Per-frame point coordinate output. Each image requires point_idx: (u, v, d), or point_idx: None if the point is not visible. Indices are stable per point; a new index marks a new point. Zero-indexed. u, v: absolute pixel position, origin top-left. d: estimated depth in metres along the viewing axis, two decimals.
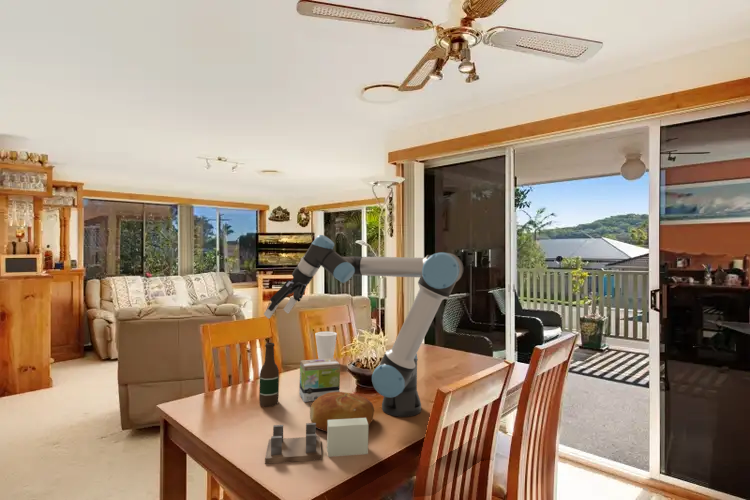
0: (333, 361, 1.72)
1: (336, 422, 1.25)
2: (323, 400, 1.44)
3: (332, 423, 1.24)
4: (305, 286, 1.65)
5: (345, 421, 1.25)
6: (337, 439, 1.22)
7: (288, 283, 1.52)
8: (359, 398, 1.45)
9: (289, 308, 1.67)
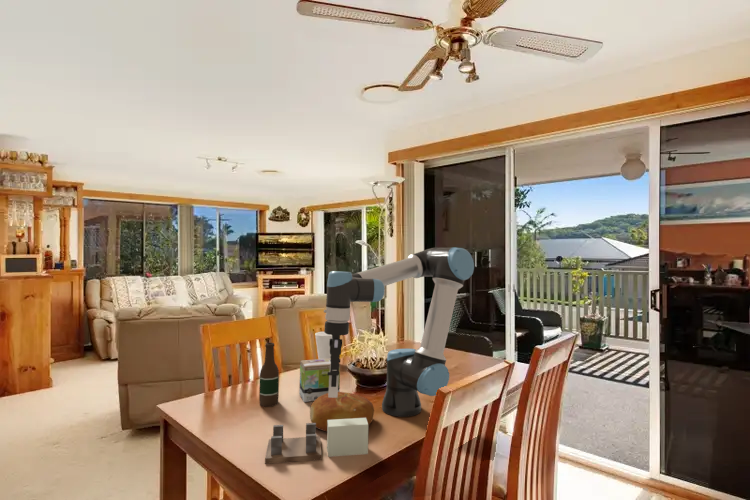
0: None
1: (336, 422, 1.25)
2: (323, 400, 1.44)
3: (332, 423, 1.24)
4: None
5: (345, 421, 1.25)
6: (337, 439, 1.22)
7: (335, 342, 1.20)
8: (359, 398, 1.45)
9: None
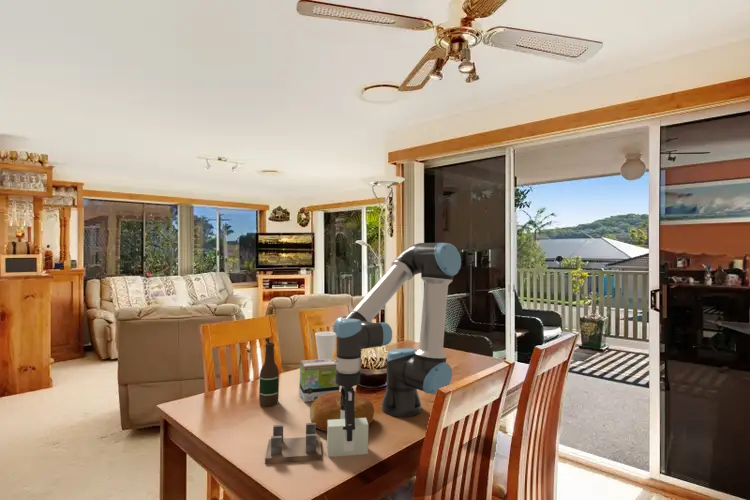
0: (333, 361, 1.72)
1: (336, 422, 1.25)
2: (323, 400, 1.44)
3: (332, 423, 1.24)
4: None
5: None
6: (337, 439, 1.22)
7: (349, 396, 1.18)
8: (359, 398, 1.45)
9: None
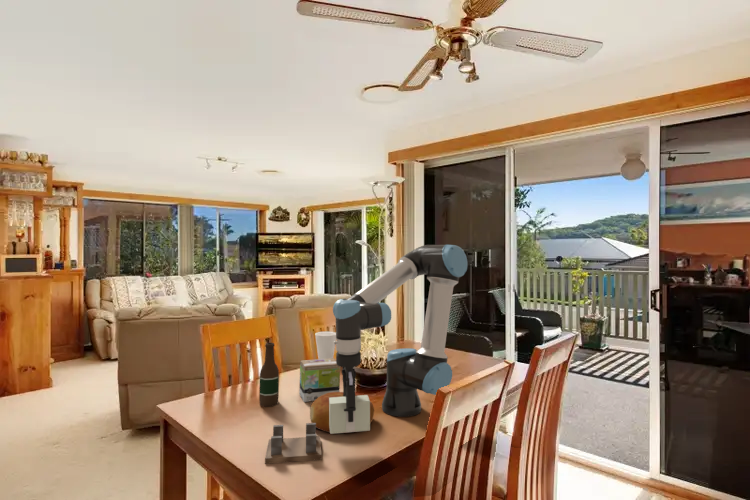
0: (333, 361, 1.72)
1: (338, 399, 1.25)
2: (323, 400, 1.44)
3: (333, 400, 1.24)
4: None
5: None
6: (339, 415, 1.22)
7: (350, 381, 1.19)
8: None
9: None
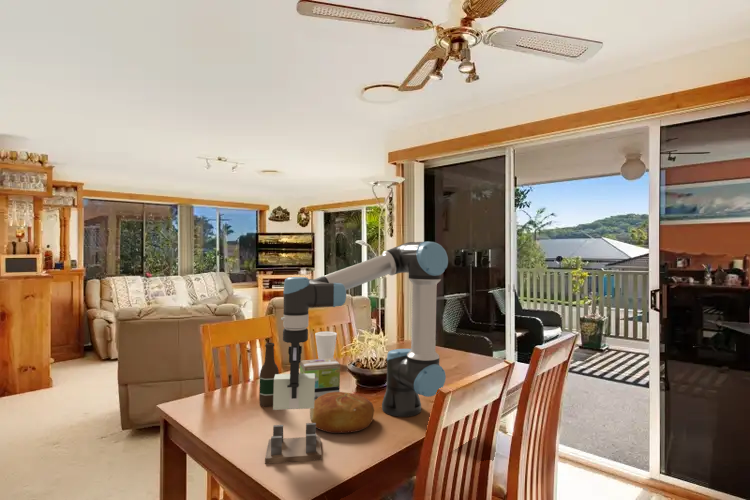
0: (333, 361, 1.72)
1: (283, 376, 1.24)
2: (323, 400, 1.44)
3: (278, 377, 1.23)
4: None
5: None
6: (282, 391, 1.21)
7: (294, 356, 1.18)
8: (359, 398, 1.45)
9: None
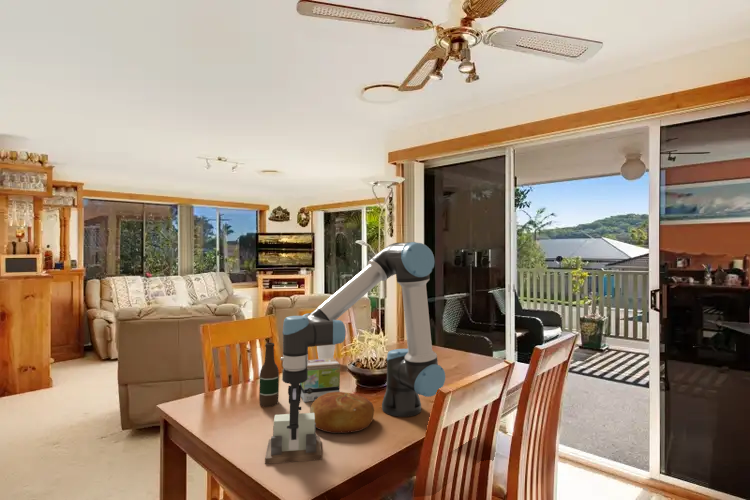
0: (333, 361, 1.72)
1: (283, 417, 1.24)
2: (323, 400, 1.44)
3: (278, 418, 1.23)
4: None
5: None
6: (282, 433, 1.21)
7: (294, 395, 1.18)
8: (359, 398, 1.45)
9: None
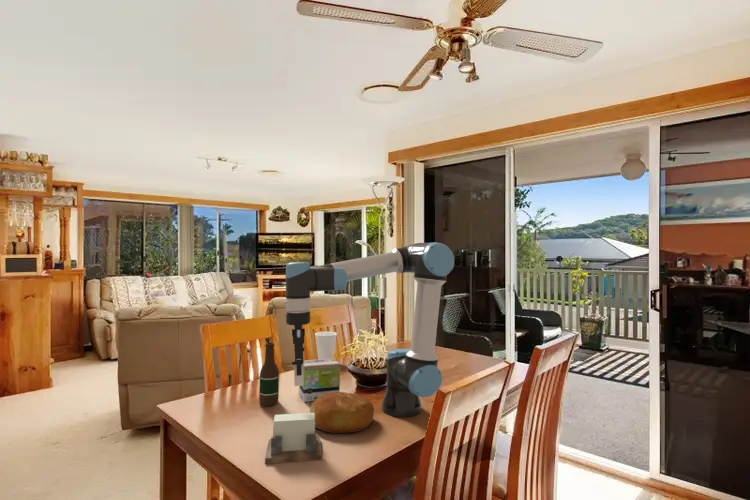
0: (333, 361, 1.72)
1: (283, 417, 1.24)
2: (323, 400, 1.44)
3: (278, 418, 1.23)
4: None
5: (292, 416, 1.25)
6: (282, 433, 1.21)
7: (298, 332, 1.23)
8: (359, 398, 1.45)
9: None
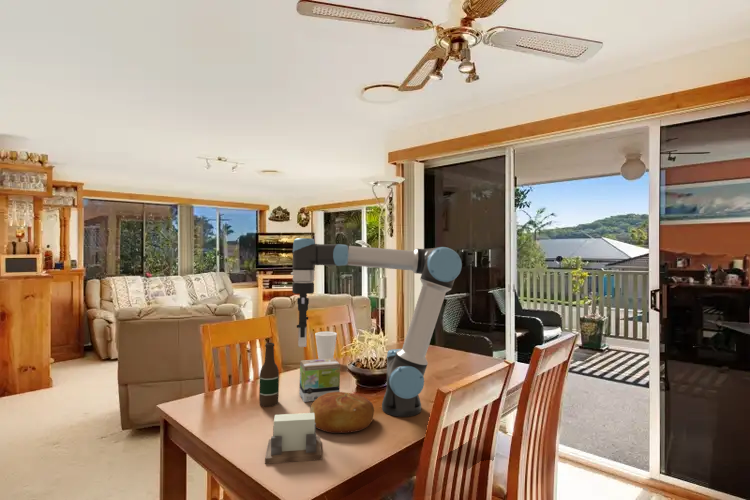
0: (333, 361, 1.72)
1: (283, 417, 1.24)
2: (323, 400, 1.44)
3: (278, 418, 1.23)
4: None
5: (292, 416, 1.25)
6: (282, 433, 1.21)
7: (302, 299, 1.38)
8: (359, 398, 1.45)
9: None
